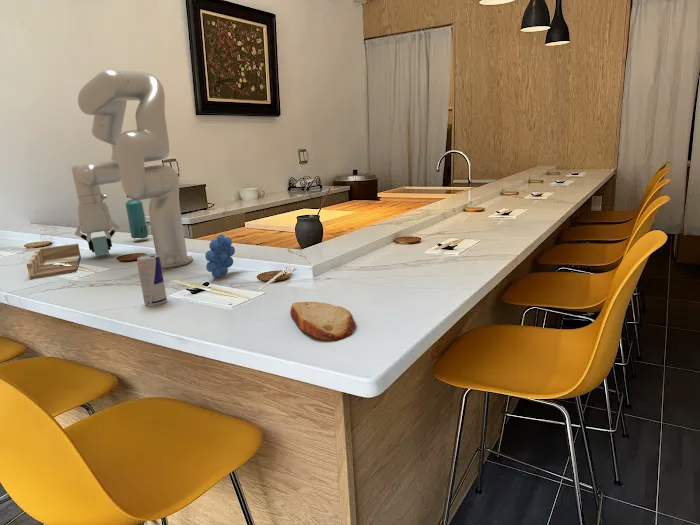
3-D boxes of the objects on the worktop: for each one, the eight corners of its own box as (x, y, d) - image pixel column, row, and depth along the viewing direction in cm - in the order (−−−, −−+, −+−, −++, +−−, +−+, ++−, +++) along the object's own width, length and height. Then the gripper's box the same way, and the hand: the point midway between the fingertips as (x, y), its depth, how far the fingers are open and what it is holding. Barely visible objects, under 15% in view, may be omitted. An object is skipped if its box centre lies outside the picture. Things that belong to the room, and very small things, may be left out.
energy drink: (171, 300, 132) (164, 254, 129) (156, 307, 127) (147, 260, 124) (155, 298, 134) (148, 253, 131) (140, 305, 129) (131, 259, 126)
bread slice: (296, 307, 121) (295, 292, 120) (370, 311, 115) (369, 295, 114) (260, 339, 105) (258, 321, 104) (344, 345, 99) (343, 327, 98)
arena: (76, 272, 166) (73, 257, 165) (30, 279, 161) (26, 264, 160) (80, 256, 188) (78, 243, 186) (40, 262, 183) (36, 249, 181)
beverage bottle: (143, 242, 205) (134, 192, 200) (128, 242, 206) (119, 193, 201) (152, 238, 211) (144, 189, 206) (137, 239, 213) (129, 190, 207)
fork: (254, 292, 136) (253, 285, 135) (287, 269, 154) (286, 263, 153) (265, 292, 135) (264, 286, 134) (297, 269, 153) (296, 263, 152)
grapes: (225, 269, 157) (220, 230, 154) (242, 270, 154) (237, 231, 151) (197, 280, 148) (191, 239, 144) (216, 282, 144) (210, 240, 141)
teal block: (109, 253, 182) (106, 239, 181) (95, 255, 180) (92, 241, 179) (108, 248, 190) (105, 235, 189) (94, 251, 188) (91, 237, 187)
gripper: (116, 195, 187) (126, 244, 191) (64, 202, 180) (76, 252, 185) (116, 197, 180) (127, 248, 185) (62, 204, 174) (74, 256, 178)
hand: (101, 250), depth 185 cm, fingers closed on teal block, 4 cm apart
